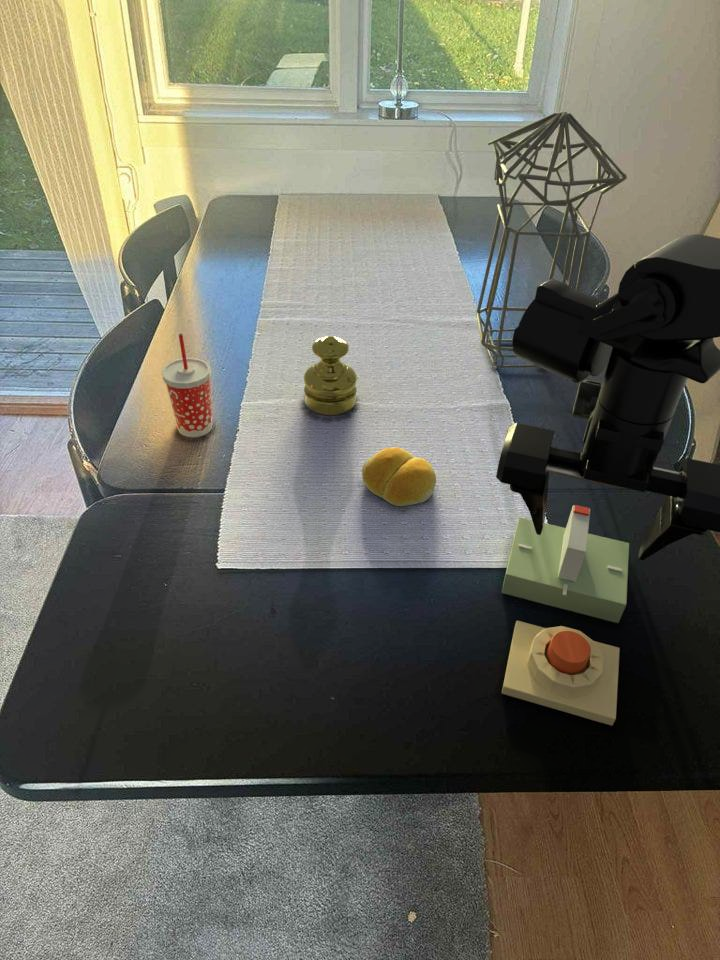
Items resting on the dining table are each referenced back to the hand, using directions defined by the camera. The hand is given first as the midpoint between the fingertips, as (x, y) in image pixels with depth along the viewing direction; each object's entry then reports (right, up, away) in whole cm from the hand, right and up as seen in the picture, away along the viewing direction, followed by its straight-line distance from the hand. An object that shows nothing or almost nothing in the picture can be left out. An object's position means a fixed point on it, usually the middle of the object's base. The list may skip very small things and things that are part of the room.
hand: (589, 543), depth 65 cm
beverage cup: (-43, +13, +30) cm, 54 cm away
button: (-2, -11, 0) cm, 11 cm away
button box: (-2, -13, +2) cm, 13 cm away
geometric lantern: (+3, +25, +46) cm, 53 cm away
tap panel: (+1, -5, +11) cm, 12 cm away
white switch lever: (+1, -2, +9) cm, 9 cm away
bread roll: (-16, +5, +22) cm, 28 cm away
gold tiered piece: (-25, +17, +35) cm, 47 cm away
